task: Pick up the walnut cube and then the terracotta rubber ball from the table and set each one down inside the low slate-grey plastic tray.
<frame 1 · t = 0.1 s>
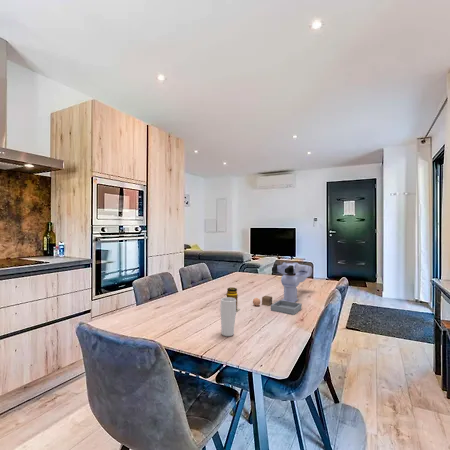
hand: (278, 270, 161), 22 cm above the table, tool horizontal, fingers open, 7 cm apart
condiment: (230, 310, 155), on the table
ball: (256, 305, 165), on the table
tray: (286, 309, 158), on the table
cube: (267, 304, 168), on the table
drinking glass: (227, 334, 121), on the table
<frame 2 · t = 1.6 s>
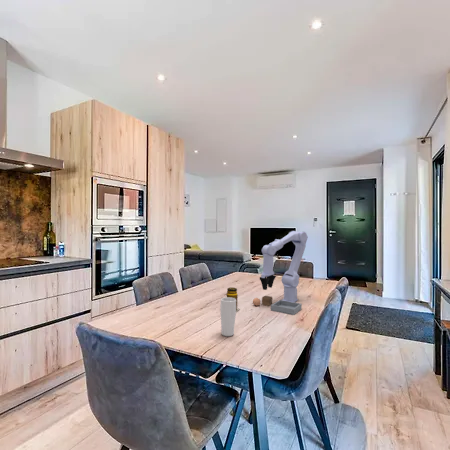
hand: (267, 288, 168), 9 cm above the table, tool pointing down, fingers open, 7 cm apart
nothing on the table moved.
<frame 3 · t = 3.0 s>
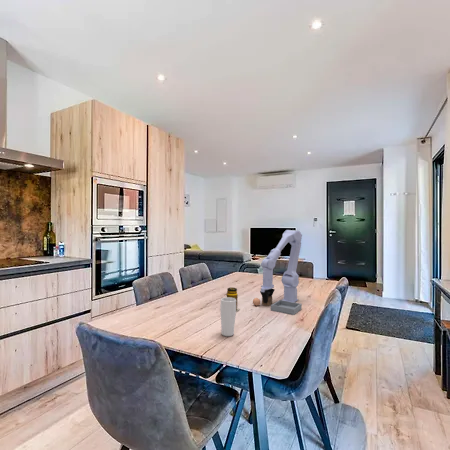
hand: (267, 302, 168), 1 cm above the table, tool pointing down, fingers closed on cube, 4 cm apart
cube: (267, 304, 168), on the table, touching gripper
everything else where it was.
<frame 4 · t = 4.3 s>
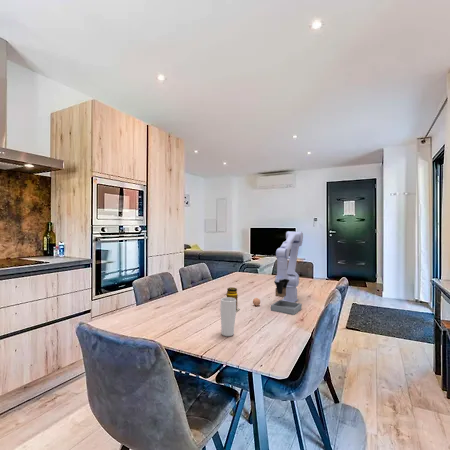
hand: (281, 292, 162), 8 cm above the table, tool pointing down, fingers closed on cube, 4 cm apart
cube: (280, 295, 163), point 7 cm above the table, touching gripper
everything else where it was.
when the fingers open (4 cm above the table, at t = 5.7 s): cube drops 1 cm, resting on tray.
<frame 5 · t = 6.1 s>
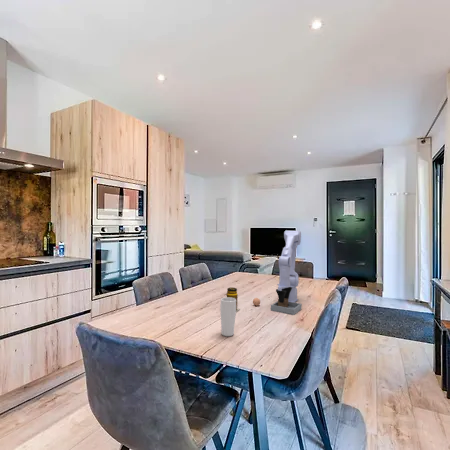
hand: (283, 301, 161), 4 cm above the table, tool pointing down, fingers open, 7 cm apart
cube: (283, 306, 162), resting on tray
everything else where it was.
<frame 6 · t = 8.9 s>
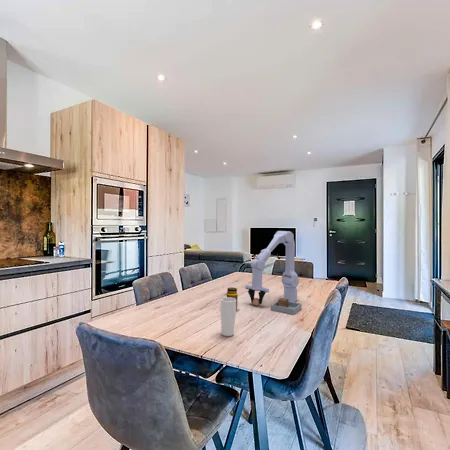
hand: (256, 303, 165), 1 cm above the table, tool pointing down, fingers closed on ball, 4 cm apart
ball: (256, 305, 165), on the table, touching gripper
everything else where it was.
when the fingers open (4 cm above the table, at t = 12.2 s): ball drops 2 cm, resting on tray.
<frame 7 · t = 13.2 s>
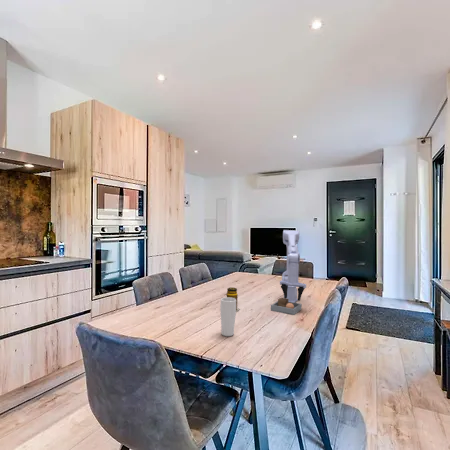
hand: (292, 299, 157), 6 cm above the table, tool pointing down, fingers open, 7 cm apart
ball: (289, 311, 154), point 1 cm above the table, touching tray
everything else where it was.
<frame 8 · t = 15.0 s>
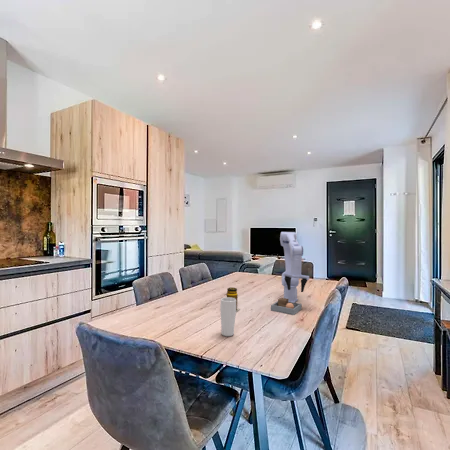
hand: (295, 290, 161), 10 cm above the table, tool pointing down, fingers open, 7 cm apart
nothing on the table moved.
at the end: cube inside the target area on the tray (3.8 cm from its centre), point 0.5 cm above the tray's base; ball inside the target area on the tray (3.9 cm from its centre), point 0.5 cm above the tray's base; the gripper is holding nothing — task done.
